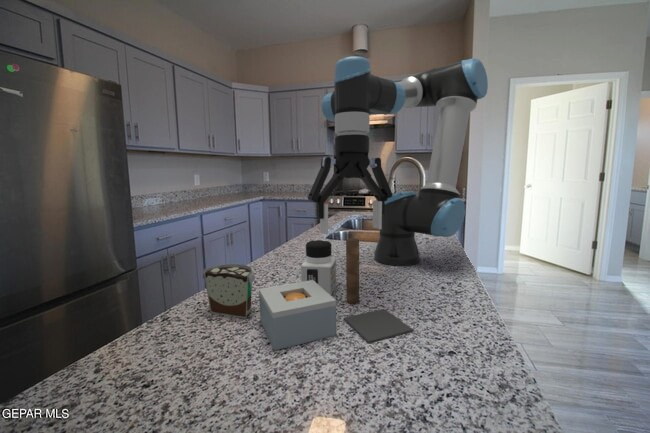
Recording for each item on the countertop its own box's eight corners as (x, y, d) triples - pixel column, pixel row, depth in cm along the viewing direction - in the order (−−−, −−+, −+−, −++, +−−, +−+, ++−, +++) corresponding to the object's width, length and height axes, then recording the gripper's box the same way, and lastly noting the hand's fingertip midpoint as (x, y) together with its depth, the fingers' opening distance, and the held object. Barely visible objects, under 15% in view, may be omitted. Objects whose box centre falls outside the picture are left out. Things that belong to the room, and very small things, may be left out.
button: (302, 305, 64) (301, 291, 64) (308, 313, 61) (308, 298, 60) (283, 309, 63) (282, 294, 62) (289, 317, 59) (288, 302, 59)
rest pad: (383, 310, 69) (383, 308, 69) (413, 331, 60) (413, 329, 60) (343, 319, 65) (343, 317, 65) (368, 343, 56) (368, 341, 56)
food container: (267, 307, 72) (265, 265, 70) (252, 319, 66) (250, 274, 65) (222, 301, 76) (219, 261, 74) (205, 311, 70) (201, 269, 69)
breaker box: (313, 309, 70) (312, 279, 69) (336, 335, 59) (336, 300, 58) (260, 320, 65) (258, 288, 64) (274, 350, 55) (272, 312, 53)
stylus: (355, 298, 76) (355, 238, 74) (361, 302, 73) (361, 240, 71) (344, 300, 75) (343, 239, 73) (350, 305, 72) (349, 242, 70)
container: (331, 296, 77) (330, 245, 75) (301, 294, 79) (299, 244, 77) (336, 284, 85) (335, 238, 83) (308, 283, 86) (307, 237, 85)
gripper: (389, 138, 76) (387, 224, 79) (292, 134, 67) (294, 232, 70) (409, 135, 70) (406, 229, 73) (303, 130, 60) (305, 238, 63)
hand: (351, 230), depth 71 cm, fingers open, 13 cm apart
